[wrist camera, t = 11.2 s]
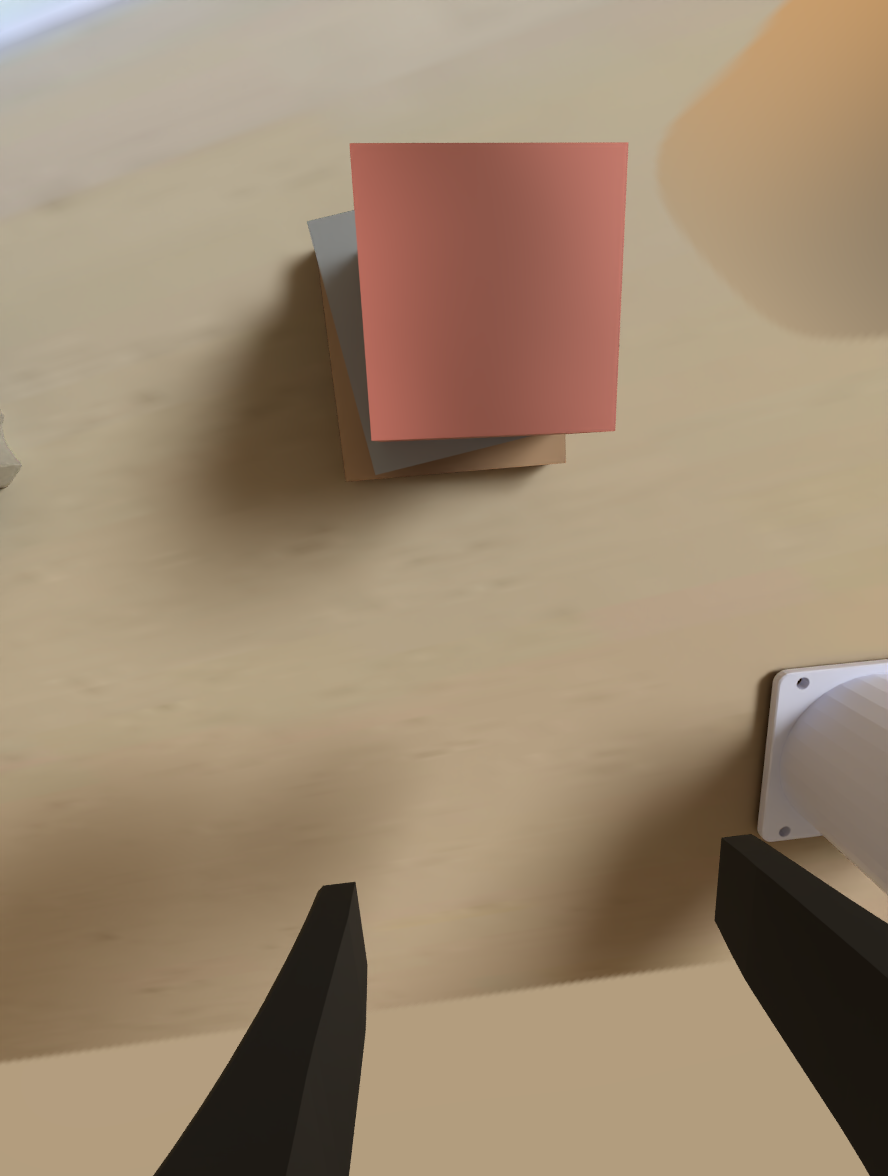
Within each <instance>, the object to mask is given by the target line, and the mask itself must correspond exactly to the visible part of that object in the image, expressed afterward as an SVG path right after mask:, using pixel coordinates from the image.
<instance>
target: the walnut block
mask: <svg viewBox="0 0 888 1176" xmlns="http://www.w3.org/2000/svg"><path fill="white" fill-rule="evenodd" d="M318 268H319V265H318ZM319 276H320V284H321V291H322V299H323V307H324V315H325V323H326V330H327V338H328V346H329V354H330V362H331V369H332V377H333V385H334V393H335V401H336V408H337V416H338V424H339V432H340V440H341V447H342V455H343V463H344V471H345V479H346V482H349V481H361V480H372V479H384V478H396V477H407V476H419V475H430V474H442V473H453V472H465V471H477V470H488V469H500V468H511V467H523V466H534V465H546V464H558V463H566V449H565V434H557V435H537V436H530V437H526V438H522V439H518V440H514V441H510V442H506V443H502V444H498V445H494V446H490V447H486V448H482V449H478V450H474V451H470V452H466V453H462V454H458V455H454V456H450V457H446V458H442V459H438V460H434V461H430V462H426V463H422V464H418V465H414V466H410V467H406V468H402V469H398V470H394V471H390V472H386V473H382V474H378V475H375V471H374V468H373V464H372V460H371V457H370V453H369V449H368V445H367V442H366V438H365V434H364V431H363V427H362V423H361V420H360V416H359V412H358V409H357V405H356V401H355V397H354V394H353V390H352V386H351V383H350V379H349V375H348V372H347V368H346V364H345V361H344V357H343V353H342V349H341V346H340V342H339V338H338V335H337V331H336V327H335V324H334V320H333V316H332V313H331V309H330V305H329V301H328V298H327V294H326V290H325V287H324V283H323V279H322V276H321V272H320V268H319Z"/></svg>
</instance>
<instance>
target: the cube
mask: <svg viewBox="0 0 888 1176" xmlns="http://www.w3.org/2000/svg"><path fill="white" fill-rule="evenodd" d="M350 156H351V169H352V183H353V196H354V210H355V224H356V237H357V251H358V264H359V278H360V292H361V305H362V319H363V332H364V346H365V359H366V373H367V387H368V400H369V414H370V427H371V441H378V442H389V441H414V440H438V439H463V438H488V437H512V436H537V435H557V434H573V433H590V432H606V431H615V421H616V400H617V378H618V356H619V334H620V313H621V291H622V269H623V247H624V225H625V204H626V182H627V160H628V143H350Z"/></svg>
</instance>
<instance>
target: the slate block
mask: <svg viewBox="0 0 888 1176" xmlns="http://www.w3.org/2000/svg"><path fill="white" fill-rule="evenodd" d="M307 224H308V228H309V231H310V235H311V239H312V242H313V246H314V250H315V253H316V257H317V261H318V265H319V268H320V272H321V276H322V279H323V283H324V287H325V290H326V294H327V298H328V301H329V305H330V309H331V313H332V316H333V320H334V324H335V327H336V331H337V335H338V338H339V342H340V346H341V349H342V353H343V357H344V361H345V364H346V368H347V372H348V375H349V379H350V383H351V386H352V390H353V394H354V397H355V401H356V405H357V409H358V412H359V416H360V420H361V423H362V427H363V431H364V434H365V438H366V442H367V445H368V449H369V453H370V457H371V460H372V464H373V468H374V471H375V475H378V474H382V473H386V472H390V471H394V470H398V469H402V468H406V467H410V466H414V465H418V464H422V463H426V462H430V461H434V460H438V459H442V458H446V457H450V456H454V455H458V454H462V453H466V452H470V451H474V450H478V449H482V448H486V447H490V446H494V445H498V444H502V443H506V442H510V441H514V440H518V439H522V438H526V437H530V436H512V437H488V438H463V439H438V440H414V441H389V442H378V441H371V427H370V414H369V400H368V387H367V373H366V359H365V346H364V332H363V319H362V305H361V292H360V278H359V264H358V251H357V237H356V224H355V210H352V211H348V212H344V213H340V214H336V215H332V216H328V217H323V218H319V219H315V220H311V221H307Z"/></svg>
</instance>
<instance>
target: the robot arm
mask: <svg viewBox="0 0 888 1176" xmlns="http://www.w3.org/2000/svg"><path fill="white" fill-rule="evenodd" d="M800 678H802V680H801V682H800V683H799V684H797V682H798V680H799V679H800ZM782 827H783V828H782ZM781 828H782V829H781ZM757 830H758V833H759V835H760V836H761V837H762V838H763V839H764V840H766V841H768V842H774V841H783V840H791V839H799V838H807V837H815V836H824V837H825V838H826V839H827V840H828V841H830V842H831V843H832V844H833V845H834V846H835V847H836V848H837V849H838V850H839V851H840V852H841V853H843V854H844V855H845V856H846V857H847V858H848V859H849V860H850V861H851V862H852V863H853V864H854V865H855V866H857V867H858V868H859V869H860V870H861V871H862V872H863V873H864V874H865V875H866V876H867V877H868V878H870V879H871V880H872V881H873V882H874V883H875V884H876V885H877V886H878V887H879V888H880V889H881V890H882V891H884V892H885V893H886V894H887V895H888V659H883V660H873V661H863V662H854V663H844V664H834V665H824V666H815V667H805V668H795V669H786V670H782V671H780V672H779V673H777V675H776V676H775V677H774V680H773V685H772V695H771V704H770V713H769V723H768V732H767V742H766V751H765V761H764V770H763V780H762V789H761V799H760V808H759V817H758V827H757ZM715 922H716V924H717V926H718V928H719V930H720V932H721V934H722V936H723V938H724V940H725V942H726V944H727V946H728V948H729V950H730V952H731V954H732V956H733V958H734V960H735V962H736V964H737V965H738V967H739V969H740V971H741V973H742V975H743V977H744V978H745V980H746V982H747V983H748V985H749V986H750V988H751V990H752V991H753V993H754V995H755V996H756V997H757V999H758V1001H759V1002H760V1004H761V1005H762V1007H763V1009H764V1010H765V1012H766V1013H767V1015H768V1016H769V1018H770V1019H771V1021H772V1023H773V1024H774V1026H775V1027H776V1029H777V1030H778V1032H779V1033H780V1035H781V1036H782V1038H783V1040H784V1041H785V1042H786V1044H787V1046H788V1047H789V1049H790V1050H791V1052H792V1053H793V1055H794V1056H795V1058H796V1059H797V1061H798V1063H799V1064H800V1065H801V1067H802V1068H803V1070H804V1072H805V1073H806V1075H807V1076H808V1078H809V1079H810V1081H811V1082H812V1084H813V1085H814V1087H815V1089H816V1090H817V1092H818V1093H819V1094H820V1096H821V1098H822V1099H823V1101H824V1102H825V1104H826V1106H827V1107H828V1109H829V1110H830V1112H831V1113H832V1115H833V1116H834V1118H835V1119H836V1121H837V1122H838V1124H839V1125H840V1127H841V1129H842V1130H843V1132H844V1134H845V1135H846V1137H847V1138H848V1140H849V1142H850V1143H851V1145H852V1147H853V1148H854V1150H855V1151H856V1153H857V1155H858V1156H859V1158H860V1160H861V1161H862V1163H863V1165H864V1166H865V1168H866V1170H867V1172H868V1173H869V1175H870V1176H888V924H887V923H886V922H884V921H883V920H881V919H880V918H878V917H876V916H875V915H873V914H872V913H870V912H869V911H867V910H866V909H864V908H863V907H861V906H859V905H858V904H856V903H855V902H853V901H852V900H850V899H849V898H847V897H846V896H844V895H843V894H841V893H840V892H838V891H837V890H835V889H834V888H832V887H831V886H829V885H828V884H826V883H825V882H823V881H822V880H820V879H819V878H817V877H816V876H814V875H813V874H811V873H810V872H808V871H807V870H805V869H804V868H802V867H801V866H799V865H798V864H796V863H795V862H793V861H792V860H790V859H789V858H787V857H786V856H784V855H783V854H781V853H780V852H778V851H777V850H775V849H774V848H772V847H771V846H769V845H768V844H766V843H765V842H763V841H761V840H760V839H758V838H757V837H755V836H753V835H752V834H749V835H741V836H732V837H724V838H722V839H721V851H720V862H719V874H718V886H717V898H716V910H715ZM366 1001H367V959H366V952H365V945H364V938H363V931H362V924H361V917H360V910H359V903H358V896H357V890H356V883H355V882H350V883H342V884H333V885H325V886H323V887H322V888H321V889H320V890H319V891H318V893H317V895H316V897H315V900H314V902H313V905H312V907H311V909H310V911H309V914H308V916H307V918H306V920H305V922H304V925H303V927H302V929H301V931H300V933H299V935H298V937H297V939H296V941H295V943H294V945H293V947H292V949H291V951H290V953H289V955H288V957H287V959H286V961H285V963H284V965H283V967H282V969H281V971H280V973H279V974H278V976H277V978H276V980H275V982H274V984H273V986H272V988H271V990H270V991H269V993H268V995H267V997H266V999H265V1001H264V1003H263V1004H262V1006H261V1008H260V1010H259V1012H258V1013H257V1015H256V1017H255V1019H254V1020H253V1022H252V1024H251V1025H250V1027H249V1029H248V1030H247V1032H246V1034H245V1035H244V1037H243V1039H242V1041H241V1042H240V1044H239V1046H238V1047H237V1049H236V1051H235V1052H234V1054H233V1056H232V1058H231V1060H230V1061H229V1063H228V1064H227V1066H226V1068H225V1069H224V1071H223V1072H222V1074H221V1076H220V1077H219V1079H218V1080H217V1082H216V1084H215V1085H214V1087H213V1088H212V1090H211V1091H210V1093H209V1095H208V1096H207V1098H206V1099H205V1101H204V1103H203V1104H202V1105H201V1107H200V1108H199V1110H198V1112H197V1113H196V1114H195V1116H194V1118H193V1119H192V1120H191V1122H190V1123H189V1125H188V1126H187V1128H186V1129H185V1131H184V1132H183V1134H182V1136H181V1137H180V1138H179V1140H178V1141H177V1143H176V1144H175V1146H174V1147H173V1149H172V1150H171V1152H170V1153H169V1154H168V1156H167V1157H166V1159H165V1160H164V1161H163V1163H162V1164H161V1166H160V1167H159V1168H158V1170H157V1171H156V1173H155V1174H154V1175H153V1176H349V1170H350V1161H351V1153H352V1144H353V1136H354V1127H355V1118H356V1110H357V1101H358V1093H359V1084H360V1076H361V1066H362V1058H363V1049H364V1040H365V1030H366Z"/></svg>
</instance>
